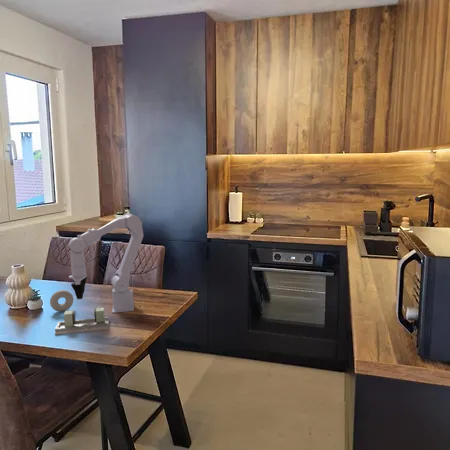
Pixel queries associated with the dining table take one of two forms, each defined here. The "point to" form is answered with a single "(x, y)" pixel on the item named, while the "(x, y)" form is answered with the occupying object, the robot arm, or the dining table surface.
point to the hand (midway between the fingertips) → (80, 296)
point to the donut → (57, 296)
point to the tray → (85, 324)
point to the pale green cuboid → (69, 318)
